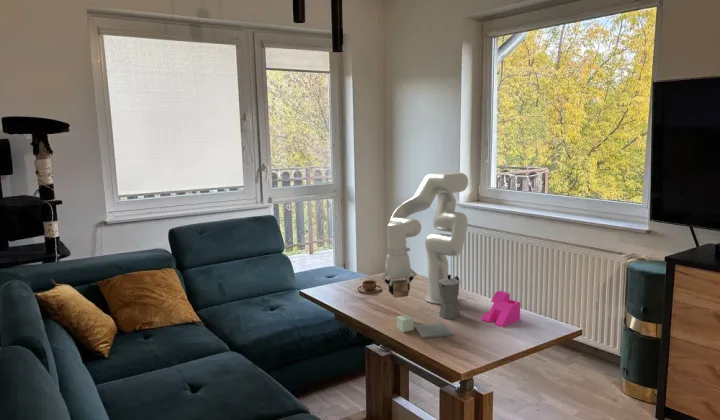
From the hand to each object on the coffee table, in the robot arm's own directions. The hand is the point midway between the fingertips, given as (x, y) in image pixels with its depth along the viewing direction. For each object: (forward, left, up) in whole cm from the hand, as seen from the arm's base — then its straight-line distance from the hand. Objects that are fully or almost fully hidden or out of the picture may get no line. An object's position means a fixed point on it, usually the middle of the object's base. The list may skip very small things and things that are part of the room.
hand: (399, 292), depth 220 cm
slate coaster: (-9, +17, -12) cm, 22 cm away
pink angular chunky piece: (-40, +12, -12) cm, 43 cm away
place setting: (+1, -42, -12) cm, 44 cm away
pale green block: (+1, +12, -12) cm, 17 cm away
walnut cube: (0, 0, -1) cm, 1 cm away
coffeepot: (-22, +1, -12) cm, 25 cm away
